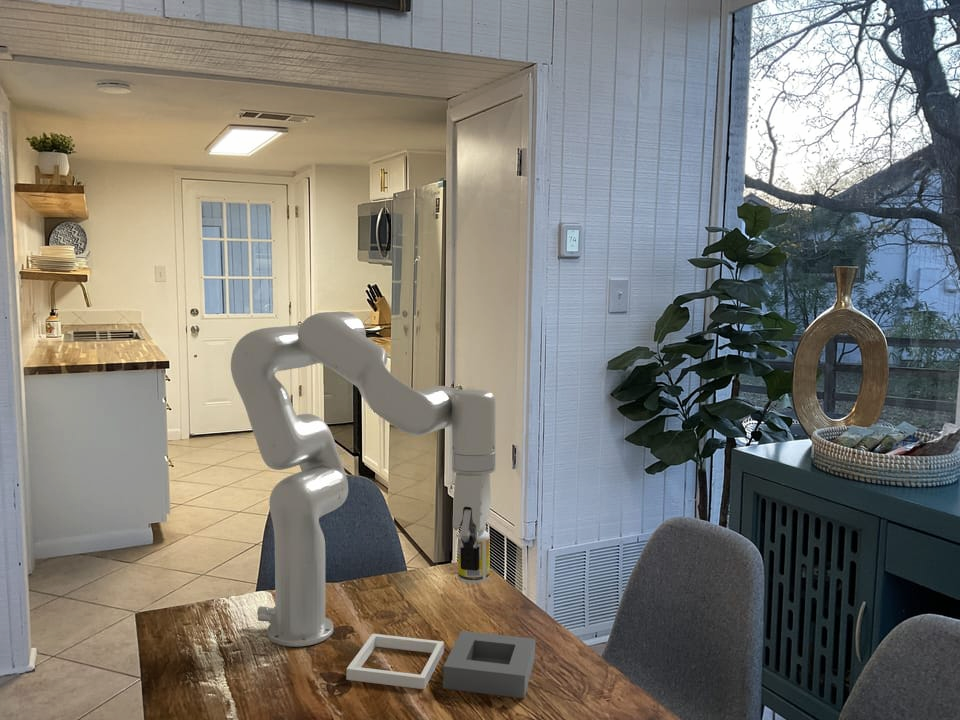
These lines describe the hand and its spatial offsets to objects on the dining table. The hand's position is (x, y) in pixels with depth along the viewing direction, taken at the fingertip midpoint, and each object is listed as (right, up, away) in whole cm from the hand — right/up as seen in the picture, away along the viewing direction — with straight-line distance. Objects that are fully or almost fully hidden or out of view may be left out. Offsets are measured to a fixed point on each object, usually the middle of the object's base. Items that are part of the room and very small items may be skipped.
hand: (473, 562), depth 141 cm
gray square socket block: (+3, -20, +2) cm, 21 cm away
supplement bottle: (0, -3, 0) cm, 3 cm away
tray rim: (-14, -20, +4) cm, 24 cm away
